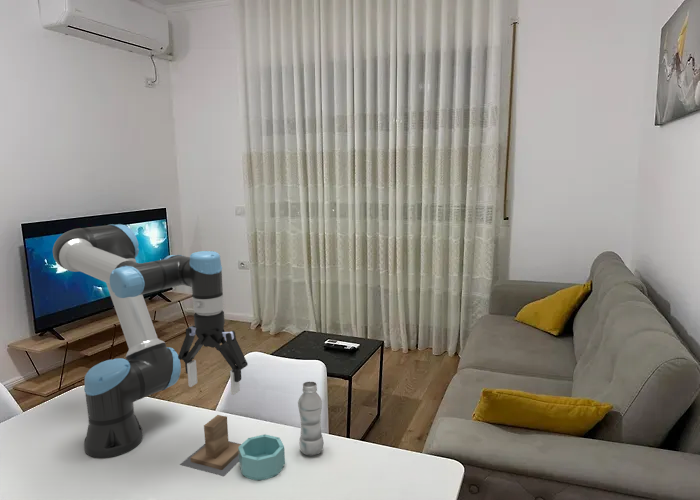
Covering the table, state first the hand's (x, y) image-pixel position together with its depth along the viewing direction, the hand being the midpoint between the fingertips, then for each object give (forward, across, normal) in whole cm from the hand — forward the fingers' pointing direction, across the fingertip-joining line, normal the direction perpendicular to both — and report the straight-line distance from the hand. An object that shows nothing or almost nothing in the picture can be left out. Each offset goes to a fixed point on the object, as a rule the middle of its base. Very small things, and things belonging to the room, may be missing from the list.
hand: (214, 388), depth 132 cm
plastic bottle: (+20, +23, +11) cm, 32 cm away
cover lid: (+20, 0, 0) cm, 20 cm away
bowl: (+20, +14, 0) cm, 24 cm away
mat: (+20, 0, 0) cm, 20 cm away
